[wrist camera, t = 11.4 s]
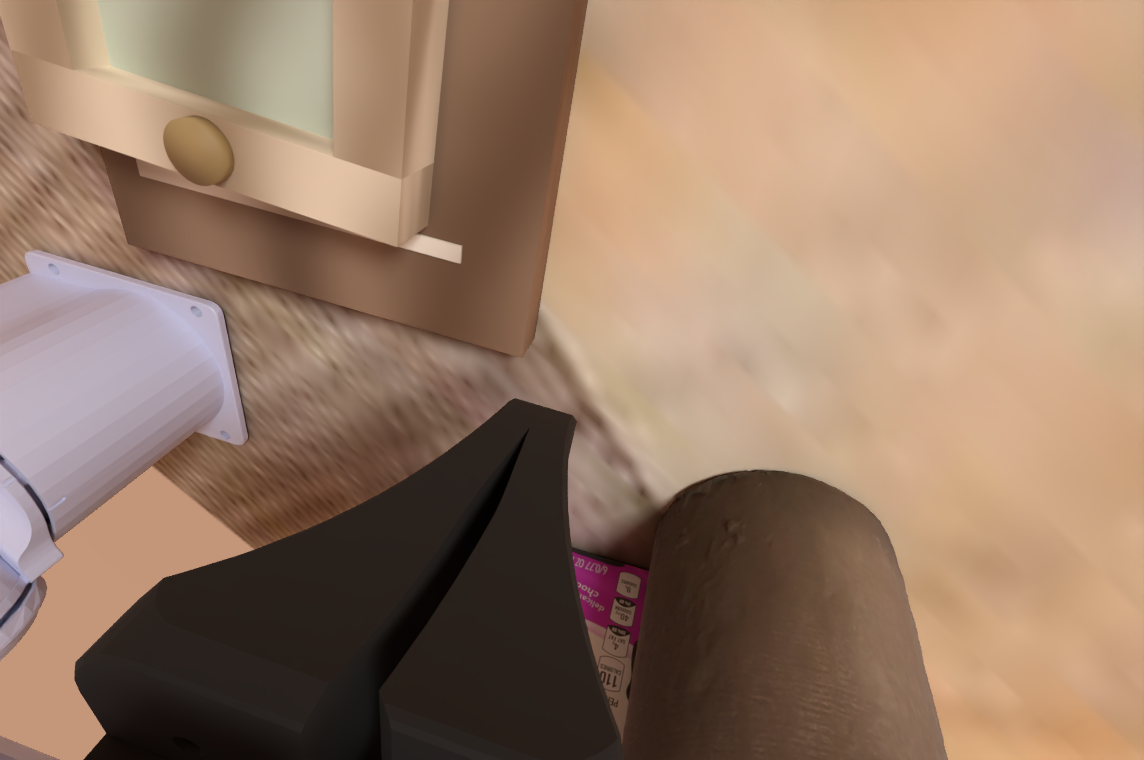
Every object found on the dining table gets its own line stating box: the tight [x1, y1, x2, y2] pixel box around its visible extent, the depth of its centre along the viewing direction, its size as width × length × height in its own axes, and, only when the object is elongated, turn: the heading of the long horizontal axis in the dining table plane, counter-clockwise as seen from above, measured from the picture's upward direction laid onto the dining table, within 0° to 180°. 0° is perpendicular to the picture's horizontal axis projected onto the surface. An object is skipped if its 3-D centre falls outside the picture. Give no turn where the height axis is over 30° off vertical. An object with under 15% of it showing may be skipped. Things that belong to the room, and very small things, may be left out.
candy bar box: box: [572, 548, 649, 740], centre depth 22 cm, size 11×5×16 cm, turn 82°
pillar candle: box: [622, 470, 948, 760], centre depth 19 cm, size 10×10×15 cm
